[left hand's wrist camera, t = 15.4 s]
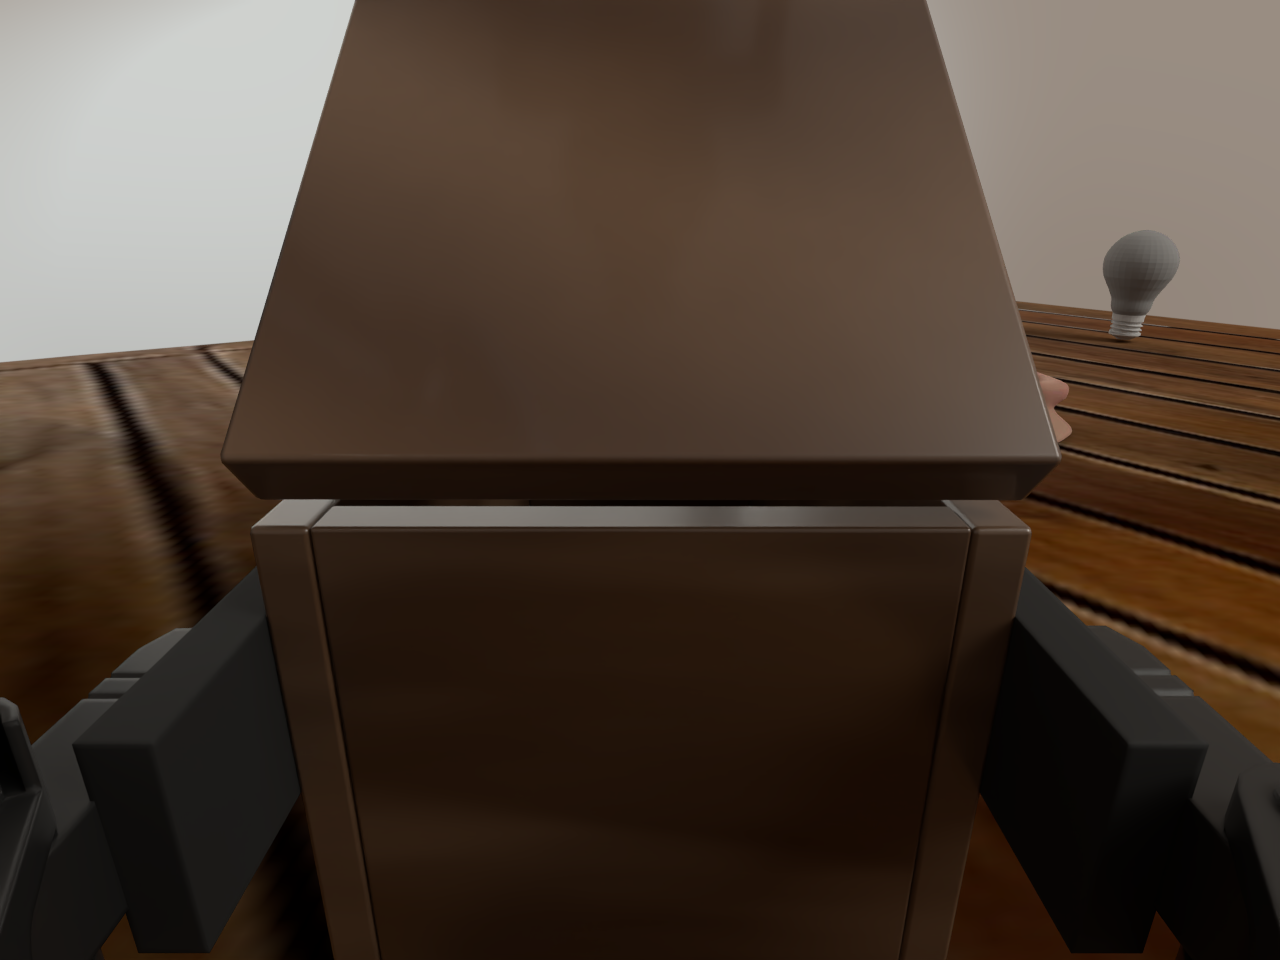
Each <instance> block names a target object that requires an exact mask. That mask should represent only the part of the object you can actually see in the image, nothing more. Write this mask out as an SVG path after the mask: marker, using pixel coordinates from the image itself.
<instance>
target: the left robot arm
mask: <svg viewBox="0 0 1280 960" xmlns="http://www.w3.org/2000/svg"><path fill="white" fill-rule="evenodd" d="M300 793H301V789H300V784H299V779H298V774H297V769H296V763H295V758H294V753H293V748H292V743H291V738H290V733H289V728H288V723H287V718H286V713H285V708H284V703H283V697H282V692H281V687H280V682H279V677H278V672H277V667H276V662H275V657H274V652H273V647H272V642H271V637H270V631H269V626H268V621H267V616H266V611H265V606H264V601H263V596H262V591H261V586H260V581H259V576H258V571H257V566H256V567H255V568H254V569H253V570H252V571H251V572H250V573H249V574H248V575H247V576H246V577H245V578H244V579H243V580H242V581H241V582H239V583H238V584H237V585H236V586H235V587H234V588H233V589H232V590H231V591H230V592H229V593H228V594H227V595H226V596H225V597H224V598H223V599H222V600H221V601H220V602H219V603H218V604H217V605H216V606H215V607H214V608H213V609H211V610H210V611H209V612H208V613H207V614H206V615H205V616H204V617H203V618H202V619H201V620H200V621H199V622H198V623H197V624H196V625H195V626H194V627H193V628H176V629H174V630H172V631H170V632H168V633H167V634H165V635H163V636H161V637H159V638H157V639H156V640H154V641H152V642H150V643H148V644H146V645H145V646H143V647H141V648H139V649H138V650H137V651H135V652H134V653H133V654H132V655H131V656H130V657H129V658H128V659H127V660H125V661H124V662H123V663H122V664H121V665H120V666H119V667H118V668H117V669H116V670H114V671H113V672H112V673H111V678H106V679H104V680H103V681H102V682H101V683H100V684H99V685H98V686H97V687H96V688H94V689H93V690H92V691H91V692H90V693H89V697H88V699H82V700H81V701H80V702H79V703H78V704H77V705H76V706H74V707H73V708H72V709H71V710H70V711H69V712H68V713H67V714H66V715H65V716H63V717H62V718H61V719H60V720H59V721H58V722H57V723H56V724H55V725H53V726H52V727H51V728H50V729H49V730H48V731H47V732H46V733H45V734H43V735H42V736H41V737H40V738H39V739H38V740H37V741H36V742H35V743H33V744H32V745H31V744H30V741H29V738H28V735H27V732H26V729H25V726H24V723H23V720H22V718H21V715H20V712H19V709H18V706H17V705H15V704H14V703H12V702H10V701H9V700H7V699H6V698H1V697H0V960H104V957H103V954H102V951H101V946H102V945H103V944H104V942H105V941H106V940H107V938H108V937H109V935H110V934H111V933H112V931H113V930H114V928H115V927H116V926H117V924H118V923H119V921H120V920H121V919H122V917H123V916H124V914H125V913H126V916H127V919H128V922H129V925H130V928H131V931H132V934H133V937H134V941H135V944H136V947H137V950H138V953H210V951H211V950H212V948H213V946H214V944H215V942H216V941H217V939H218V937H219V935H220V934H221V932H222V930H223V928H224V927H225V925H226V923H227V921H228V920H229V918H230V916H231V914H232V913H233V911H234V909H235V907H236V906H237V904H238V902H239V900H240V899H241V897H242V895H243V893H244V891H245V890H246V888H247V886H248V884H249V883H250V881H251V879H252V877H253V876H254V874H255V872H256V870H257V869H258V867H259V865H260V863H261V862H262V860H263V858H264V856H265V855H266V853H267V851H268V849H269V848H270V846H271V844H272V842H273V840H274V839H275V837H276V835H277V833H278V832H279V830H280V828H281V826H282V825H283V823H284V821H285V819H286V818H287V816H288V814H289V812H290V811H291V809H292V807H293V805H294V804H295V802H296V800H297V798H298V797H299V795H300ZM980 793H981V795H982V797H983V799H984V801H985V802H986V804H987V806H988V808H989V809H990V811H991V813H992V815H993V816H994V818H995V820H996V822H997V823H998V825H999V827H1000V829H1001V830H1002V832H1003V834H1004V836H1005V837H1006V839H1007V841H1008V843H1009V844H1010V846H1011V848H1012V850H1013V851H1014V853H1015V855H1016V857H1017V859H1018V860H1019V862H1020V864H1021V866H1022V867H1023V869H1024V871H1025V873H1026V874H1027V876H1028V878H1029V880H1030V881H1031V883H1032V885H1033V887H1034V888H1035V890H1036V892H1037V894H1038V895H1039V897H1040V899H1041V901H1042V902H1043V904H1044V906H1045V908H1046V909H1047V911H1048V913H1049V915H1050V917H1051V918H1052V920H1053V922H1054V924H1055V925H1056V927H1057V929H1058V931H1059V932H1060V934H1061V936H1062V938H1063V939H1064V941H1065V943H1066V945H1067V946H1068V948H1069V950H1070V952H1071V953H1143V950H1144V947H1145V944H1146V941H1147V937H1148V934H1149V931H1150V928H1151V925H1152V922H1153V919H1154V916H1155V912H1156V910H1157V912H1158V913H1159V915H1160V916H1161V917H1162V919H1163V920H1164V922H1165V923H1166V924H1167V926H1168V927H1169V928H1170V930H1171V931H1172V933H1173V934H1174V935H1175V937H1176V938H1177V940H1178V941H1179V942H1180V944H1181V945H1180V948H1179V951H1178V954H1177V957H1176V960H1280V763H1273V762H1272V761H1271V760H1270V759H1269V758H1267V757H1266V756H1265V755H1264V754H1263V753H1262V752H1261V751H1260V750H1259V749H1257V748H1256V747H1255V746H1254V745H1253V744H1252V743H1251V742H1250V741H1248V740H1247V739H1246V738H1245V737H1244V736H1243V735H1242V734H1241V733H1240V732H1238V731H1237V730H1236V729H1235V728H1234V727H1233V726H1232V725H1231V724H1229V723H1228V722H1227V721H1226V720H1225V719H1224V718H1223V717H1222V716H1221V715H1219V714H1218V713H1217V712H1216V711H1215V710H1214V709H1213V708H1212V707H1210V706H1209V705H1208V704H1207V703H1206V702H1205V701H1204V700H1203V699H1202V698H1200V697H1199V696H1194V695H1193V690H1192V689H1190V688H1189V687H1188V686H1187V685H1186V684H1185V683H1184V682H1183V681H1181V680H1180V679H1179V678H1178V677H1177V676H1171V673H1170V670H1169V669H1168V668H1167V667H1166V666H1165V665H1164V664H1162V663H1161V662H1160V661H1159V660H1158V659H1157V658H1156V657H1155V656H1154V655H1152V654H1151V653H1150V652H1149V651H1148V650H1147V649H1146V648H1145V647H1143V646H1142V645H1140V644H1138V643H1136V642H1134V641H1132V640H1131V639H1129V638H1127V637H1125V636H1123V635H1121V634H1120V633H1118V632H1116V631H1114V630H1112V629H1110V628H1109V627H1107V626H1086V625H1085V624H1084V623H1083V622H1082V621H1081V620H1080V619H1079V618H1078V617H1077V616H1076V615H1074V614H1073V613H1072V612H1071V611H1070V610H1069V609H1068V608H1067V607H1066V606H1065V605H1064V604H1063V603H1062V602H1061V601H1060V600H1059V599H1058V598H1057V597H1056V596H1055V595H1054V594H1053V593H1052V592H1051V591H1050V590H1049V589H1048V588H1046V587H1045V586H1044V585H1043V584H1042V583H1041V582H1040V581H1039V580H1038V579H1037V578H1036V577H1035V576H1034V575H1033V574H1032V573H1031V572H1030V571H1029V570H1028V569H1027V568H1026V567H1025V570H1024V575H1023V579H1022V584H1021V589H1020V594H1019V599H1018V604H1017V609H1016V614H1015V618H1014V623H1013V628H1012V633H1011V638H1010V643H1009V648H1008V653H1007V658H1006V663H1005V668H1004V673H1003V678H1002V683H1001V689H1000V694H999V699H998V704H997V709H996V714H995V719H994V724H993V729H992V734H991V739H990V744H989V749H988V754H987V759H986V763H985V768H984V773H983V778H982V783H981V788H980Z"/></svg>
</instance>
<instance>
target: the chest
mask: <svg viewBox="0 0 1280 960" xmlns="http://www.w3.org/2000/svg"><path fill="white" fill-rule="evenodd" d="M250 535H251V540H252V545H253V550H254V555H255V560H256V565H257V571H258V576H259V581H260V586H261V591H262V596H263V601H264V606H265V611H266V616H267V621H268V626H269V631H270V637H271V642H272V647H273V652H274V657H275V662H276V667H277V672H278V677H279V682H280V687H281V692H282V697H283V703H284V708H285V713H286V718H287V723H288V728H289V733H290V738H291V743H292V748H293V753H294V758H295V763H296V769H297V774H298V779H299V784H300V789H301V794H302V799H303V804H304V809H305V814H306V819H307V824H308V830H309V835H310V840H311V845H312V850H313V855H314V860H315V865H316V870H317V875H318V880H319V885H320V890H321V896H322V901H323V906H324V911H325V916H326V921H327V926H328V931H329V936H330V941H331V946H332V951H333V956H334V960H946V957H947V952H948V947H949V943H950V938H951V933H952V928H953V923H954V918H955V913H956V908H957V903H958V898H959V893H960V888H961V883H962V878H963V873H964V868H965V863H966V858H967V853H968V848H969V843H970V838H971V833H972V828H973V823H974V818H975V813H976V808H977V803H978V798H979V793H980V788H981V783H982V778H983V773H984V768H985V763H986V759H987V754H988V749H989V744H990V739H991V734H992V729H993V724H994V719H995V714H996V709H997V704H998V699H999V694H1000V689H1001V683H1002V678H1003V673H1004V668H1005V663H1006V658H1007V653H1008V648H1009V643H1010V638H1011V633H1012V628H1013V623H1014V618H1015V614H1016V609H1017V604H1018V599H1019V594H1020V589H1021V584H1022V579H1023V575H1024V570H1025V565H1026V560H1027V555H1028V550H1029V545H1030V540H1031V535H1032V534H1031V529H1030V527H1029V526H1027V525H1026V524H1025V523H1024V522H1023V521H1022V520H1020V519H1019V518H1018V517H1017V516H1016V515H1015V514H1013V513H1012V512H1011V511H1010V510H1009V509H1008V508H1006V507H1005V506H1004V505H1003V504H1002V503H1001V502H999V501H998V500H283V501H282V502H280V503H279V504H278V505H277V506H276V507H275V508H273V509H272V510H271V511H270V512H269V513H268V514H266V515H265V516H264V517H263V518H262V519H261V520H260V521H258V522H257V523H256V524H255V525H254V526H253V527H252V528H251V533H250Z"/></svg>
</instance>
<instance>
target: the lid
mask: <svg viewBox="0 0 1280 960" xmlns="http://www.w3.org/2000/svg"><path fill="white" fill-rule="evenodd" d="M221 461H222V463H223V464H224V465H225V466H226V467H227V468H228V469H229V470H230V471H231V472H232V473H233V474H234V475H235V476H236V477H237V478H238V479H239V480H240V481H241V482H242V483H243V484H244V485H245V486H246V487H247V488H248V489H249V490H250V491H251V492H252V493H253V494H254V495H255V496H256V497H257V498H260V499H264V500H1021V499H1024V498H1026V497H1027V496H1028V495H1029V494H1030V493H1031V492H1032V491H1033V490H1034V489H1035V488H1036V487H1037V486H1038V485H1039V484H1040V483H1041V482H1042V481H1043V480H1044V479H1045V478H1046V477H1047V476H1048V475H1049V474H1050V473H1051V472H1052V471H1053V470H1054V469H1055V468H1056V467H1057V466H1058V465H1059V464H1060V462H1061V452H1060V448H1059V445H1058V442H1057V438H1056V435H1055V432H1054V428H1053V425H1052V422H1051V418H1050V415H1049V411H1048V408H1047V405H1046V401H1045V398H1044V395H1043V391H1042V388H1041V385H1040V381H1039V378H1038V374H1037V371H1036V368H1035V364H1034V361H1033V358H1032V354H1031V351H1030V348H1029V344H1028V341H1027V338H1026V334H1025V331H1024V327H1023V324H1022V321H1021V317H1020V314H1019V311H1018V307H1017V304H1016V301H1015V297H1014V294H1013V291H1012V287H1011V284H1010V280H1009V277H1008V274H1007V271H1006V267H1005V264H1004V260H1003V257H1002V254H1001V250H1000V247H999V244H998V240H997V237H996V233H995V230H994V227H993V223H992V220H991V217H990V213H989V210H988V207H987V203H986V200H985V197H984V193H983V190H982V186H981V183H980V180H979V176H978V173H977V170H976V166H975V163H974V160H973V156H972V153H971V150H970V146H969V143H968V139H967V136H966V133H965V129H964V126H963V123H962V119H961V116H960V113H959V109H958V106H957V103H956V99H955V96H954V92H953V89H952V86H951V82H950V79H949V76H948V72H947V69H946V66H945V62H944V59H943V56H942V52H941V49H940V45H939V42H938V39H937V35H936V32H935V29H934V25H933V22H932V19H931V15H930V12H929V8H928V5H927V2H926V0H355V3H354V6H353V9H352V13H351V16H350V20H349V23H348V26H347V30H346V33H345V36H344V40H343V43H342V47H341V50H340V53H339V57H338V60H337V64H336V67H335V70H334V74H333V77H332V80H331V84H330V87H329V90H328V94H327V97H326V101H325V104H324V107H323V111H322V114H321V117H320V121H319V124H318V127H317V131H316V134H315V138H314V141H313V144H312V148H311V151H310V154H309V158H308V161H307V165H306V168H305V171H304V175H303V178H302V181H301V185H300V188H299V192H298V195H297V198H296V202H295V205H294V208H293V212H292V215H291V218H290V222H289V225H288V229H287V232H286V235H285V239H284V242H283V246H282V249H281V252H280V256H279V259H278V262H277V266H276V269H275V272H274V276H273V279H272V283H271V286H270V289H269V293H268V296H267V299H266V303H265V306H264V310H263V313H262V316H261V320H260V323H259V326H258V330H257V333H256V336H255V340H254V343H253V347H252V350H251V353H250V357H249V360H248V363H247V367H246V370H245V374H244V377H243V380H242V384H241V387H240V390H239V394H238V397H237V401H236V404H235V407H234V411H233V414H232V417H231V421H230V424H229V428H228V431H227V434H226V438H225V441H224V444H223V448H222V451H221Z"/></svg>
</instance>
